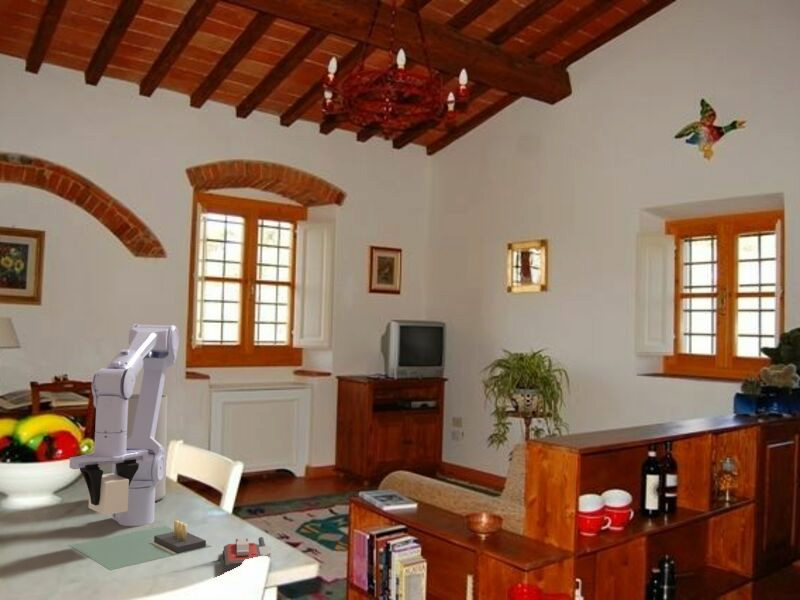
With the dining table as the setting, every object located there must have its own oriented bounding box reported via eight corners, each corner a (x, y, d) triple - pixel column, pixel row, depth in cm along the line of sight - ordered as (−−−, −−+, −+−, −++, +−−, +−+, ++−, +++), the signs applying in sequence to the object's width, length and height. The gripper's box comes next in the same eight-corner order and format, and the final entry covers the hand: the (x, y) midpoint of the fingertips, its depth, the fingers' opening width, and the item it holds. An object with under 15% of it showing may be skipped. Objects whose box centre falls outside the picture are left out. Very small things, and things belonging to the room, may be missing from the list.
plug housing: (88, 507, 139) (89, 476, 139) (111, 503, 142) (112, 473, 142) (104, 515, 134) (105, 482, 134) (127, 511, 137) (128, 479, 137)
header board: (68, 550, 138) (69, 523, 138) (165, 530, 152) (166, 505, 152) (110, 575, 125) (111, 545, 125) (211, 551, 140) (212, 524, 140)
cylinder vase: (151, 505, 170) (153, 399, 171) (101, 503, 171) (103, 398, 172) (173, 493, 182) (175, 394, 183) (126, 491, 184) (128, 393, 184)
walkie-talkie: (274, 580, 126) (266, 545, 146) (275, 555, 126) (266, 523, 146) (223, 583, 124) (221, 547, 143) (224, 558, 124) (222, 525, 143)
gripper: (81, 437, 130) (78, 512, 130) (156, 430, 141) (153, 500, 140) (66, 432, 135) (63, 504, 135) (139, 425, 146) (136, 493, 145)
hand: (108, 502), depth 138 cm, fingers closed on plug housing, 4 cm apart
